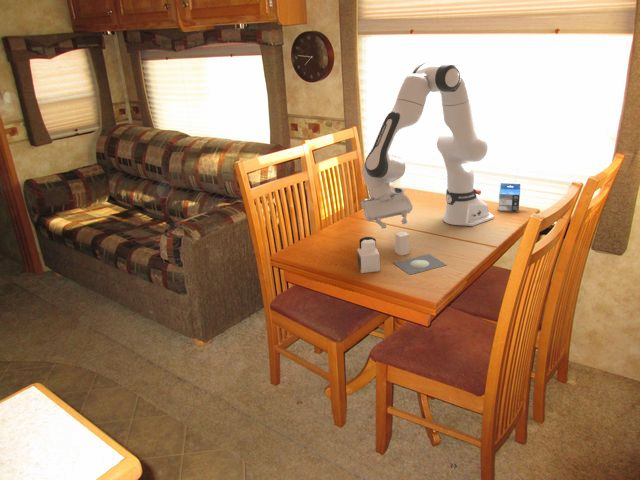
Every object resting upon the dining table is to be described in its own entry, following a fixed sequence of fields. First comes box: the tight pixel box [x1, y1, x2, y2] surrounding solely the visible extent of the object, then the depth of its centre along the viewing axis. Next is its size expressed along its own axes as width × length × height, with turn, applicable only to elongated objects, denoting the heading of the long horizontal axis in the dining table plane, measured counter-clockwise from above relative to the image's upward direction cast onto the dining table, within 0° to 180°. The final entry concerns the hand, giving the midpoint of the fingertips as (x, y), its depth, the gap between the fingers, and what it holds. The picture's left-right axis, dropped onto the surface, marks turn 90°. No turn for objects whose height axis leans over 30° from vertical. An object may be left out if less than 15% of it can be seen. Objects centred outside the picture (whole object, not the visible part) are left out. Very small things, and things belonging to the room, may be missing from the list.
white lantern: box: [356, 236, 381, 274], centre depth 195 cm, size 7×7×12 cm
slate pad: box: [393, 253, 448, 275], centre depth 197 cm, size 16×12×1 cm
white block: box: [394, 231, 411, 256], centre depth 207 cm, size 4×4×8 cm
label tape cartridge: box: [497, 182, 521, 213], centre depth 242 cm, size 9×4×12 cm, turn 67°
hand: (394, 225), depth 209 cm, fingers open, 8 cm apart
